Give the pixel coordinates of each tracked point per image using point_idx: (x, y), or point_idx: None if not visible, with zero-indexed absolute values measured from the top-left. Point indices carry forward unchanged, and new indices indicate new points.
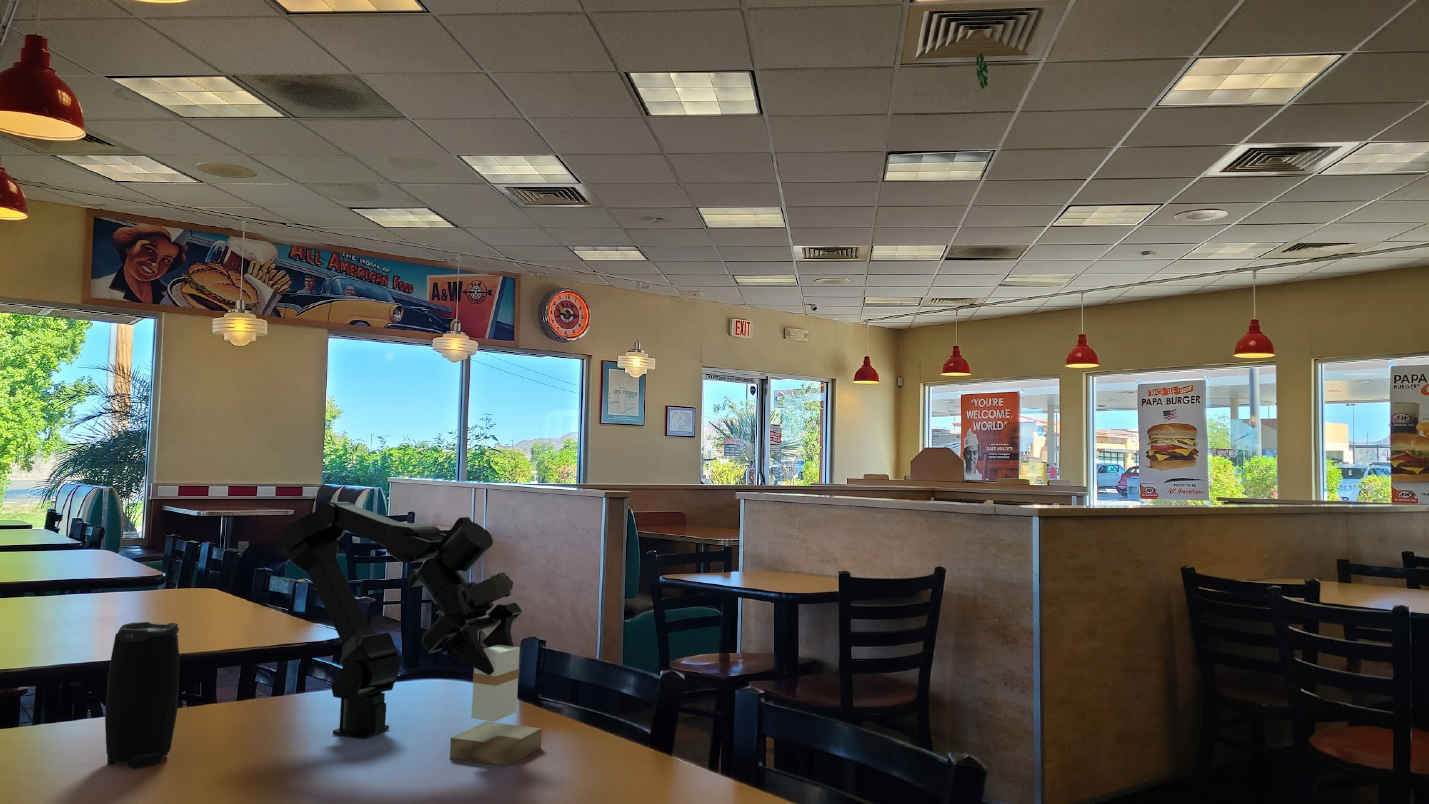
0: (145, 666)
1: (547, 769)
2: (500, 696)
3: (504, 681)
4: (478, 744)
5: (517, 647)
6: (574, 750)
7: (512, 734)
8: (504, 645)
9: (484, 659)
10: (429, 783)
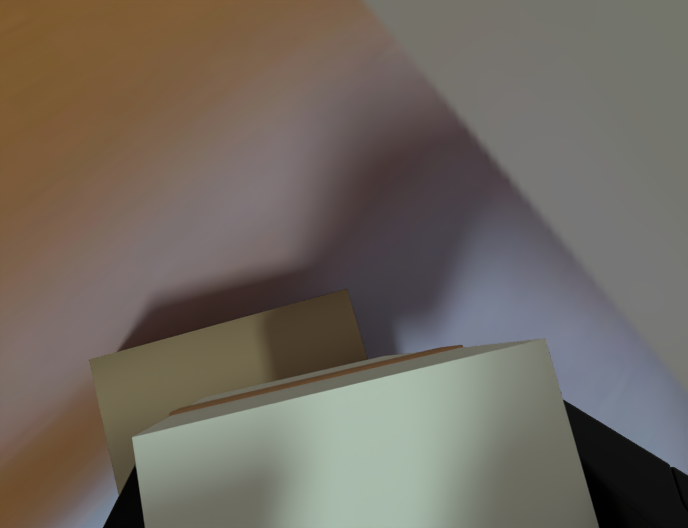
0: None
1: (278, 183)
2: (362, 364)
3: (349, 368)
4: None
5: (150, 456)
6: (59, 244)
7: (235, 385)
8: None
9: (593, 420)
10: (575, 358)
